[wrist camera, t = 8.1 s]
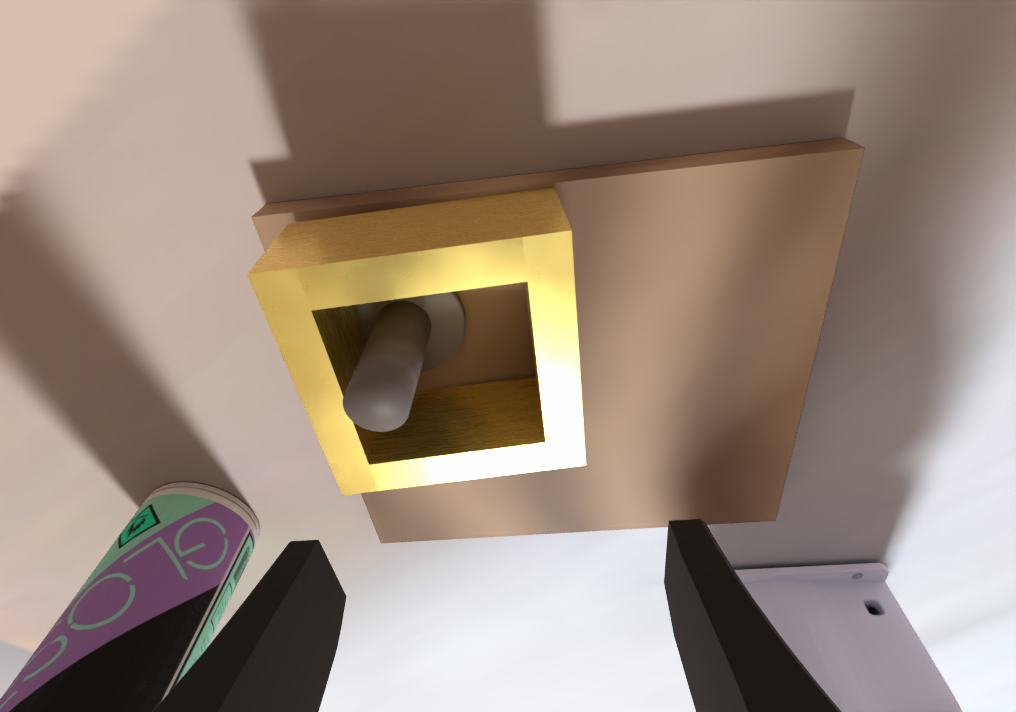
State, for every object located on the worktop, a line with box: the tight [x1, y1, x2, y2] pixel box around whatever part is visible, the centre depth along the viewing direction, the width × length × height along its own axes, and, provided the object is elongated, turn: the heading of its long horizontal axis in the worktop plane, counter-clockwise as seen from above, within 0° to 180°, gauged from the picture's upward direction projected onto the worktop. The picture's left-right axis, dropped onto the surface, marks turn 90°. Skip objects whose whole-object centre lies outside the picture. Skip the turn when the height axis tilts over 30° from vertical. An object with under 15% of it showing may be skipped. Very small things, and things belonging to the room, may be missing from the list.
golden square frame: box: [247, 187, 586, 495], centre depth 17 cm, size 8×8×4 cm
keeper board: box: [252, 138, 864, 543], centre depth 19 cm, size 18×16×6 cm
